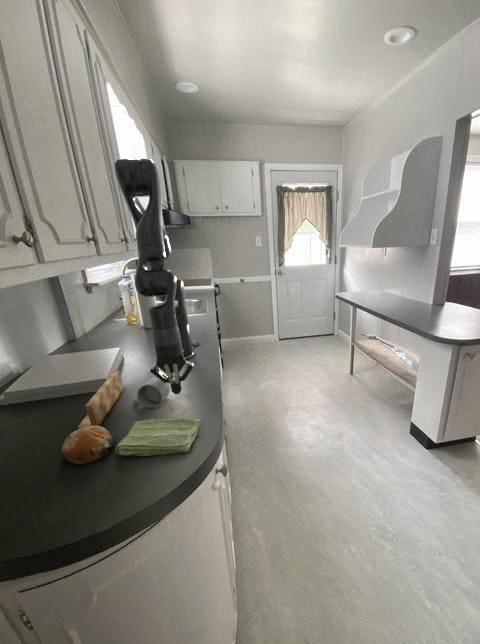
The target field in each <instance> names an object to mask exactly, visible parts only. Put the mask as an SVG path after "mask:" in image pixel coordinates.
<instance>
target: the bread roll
mask: <svg viewBox="0 0 480 644" xmlns="http://www.w3.org/2000/svg"><path fill="white" fill-rule="evenodd" d="M113 441H114V439H113V437H112V434H111V433H110V431H109V430H108V429H106V428H105V427H103V426H100V425H99V426H87V427H83V428H80V429H78V428H77V429H76V430H74V431H73V432H71V433H70V434H68V436H67V437H66V439H65V440H64V442H63V444H62V448H61V452H62V454H63V456H64V458H65V459H66V460H67V461H68V462H69V463H72V464H75V465H86V464H90V463H92V462H93V463H94V462H95V461H97V460H99V459H102V458H103V457H104V456H106V455H108V453H109V452H110V451H111V449H112V447H113Z"/></svg>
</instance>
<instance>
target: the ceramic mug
mask: <svg viewBox="0 0 480 644" xmlns="http://www.w3.org/2000/svg"><path fill="white" fill-rule="evenodd" d="M171 391H172V390H171V385H170V383H164V382H162V381H161V380H160V379H159V378H157V377H156V376H154V377H152V378H150V379H148V381H146V382H145V383H144V384H142V385H141V386H140V387H139V388H138V389H137V392H136V393H137V394H136V396H135V397H134V399H133V401H134V402H135V404H141V405H143V406H145V407H147V408H151V409H152V408H157V407H159V406H160V405H161V404H162V403H163V402H164V400H165V399H166V398H167V397H168V396H169V394H171V393H170V392H171Z"/></svg>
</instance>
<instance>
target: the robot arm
mask: <svg viewBox="0 0 480 644" xmlns="http://www.w3.org/2000/svg"><path fill="white" fill-rule="evenodd" d="M113 166H114V167H113V168H114V173H115V177H116V181H117V183H118V186H119V188H120V190H121V191H120V192H121V194H122V196H123V198H124V201H125V203H126V206H127V208H128V210H129V213H130V216H131V219H132V223H133V226H134V228H135V242H136V248H137V266H136V270H135V276H134V287H135V288H134V289H135V290H136V292H137V293H138V294H139V295H140V296H141V297H142V298H155V297H156V298H157V299H158V301H160V303H156V304H154V305H151V306H149V307H148V310H147V311H148V318H149V321H150V327H151V336H152V343H153V347H154V351H155V356H156V362H155V364H154V365H153V366H151V368H150V373H151V374H153V375H154V377H157V378H159V379H160V380H161V381H162V382H164V383H170V385H171V390H170V391H171V393H173V394H174V395H180V394H181V392H182V382H184V381H185V380H186V379H187V378H188V376H189V374H190V373H191V371H192V370H193V369H194V365H195V364H194V362H189V361H188V359H192V358H193V357H194V355H195V354H194V349H193V347H197V346H199V344H200V342H199V341H197V342H196V343H194V342H192V341H193V340H192V336H191V330H190V322H189V318H188V317H189V316H188V309H187V304H186V303H187V302H186V291H185V286H184V281H183V279H182V278H181V277H177V276H176V274H175V273H174V272H173V271H172V270H171V269H168V268H165V267H166V265H167V263H168V262H169V260H170V257H171V253H172V248H171V243H170V240H169V236H168V233H167V231H166V230H165V228H164V227H163V203H162V202H163V200H162V197H163V196H162V195H163V194H162V184H161V183H162V182H161V178H160V174H159V169H158V167H157V164H156V163H155V161H153V160H152V159H150V158H117V159H116V160H115V161H114V165H113ZM148 197H149V198H148ZM139 198H148V203H147V206H146V208H145V207H144V206H143V205H142V203H141V201H140V199H139ZM182 369H185V370H184V371H183V373H182V374H181V371H182Z"/></svg>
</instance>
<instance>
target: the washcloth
mask: <svg viewBox="0 0 480 644" xmlns="http://www.w3.org/2000/svg"><path fill="white" fill-rule="evenodd" d="M201 423H202V421H201V420H200V419H198V418H190V417H188V418H187V417H182V418H181V417H179V418H167V419H156V418H153V419H141V420H138V421H136V422H134V423H133V425H132V427H131V428H130V429H129V430H128V433H127V435H126V436H125V437H123V438H122V439H121V440H120V442H118V443H117V445H116V448H115V453H116V454H117V455H119V456H140V457H146V456H147V457H148V456H157V455H158V456H160V455H170V454H178V453H180V454H181V453H188V452H190V451H189V450H190V448H191V446H192V444H193V441H195V438H196V436H197V434H198V430H199V428H200V425H201Z"/></svg>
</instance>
